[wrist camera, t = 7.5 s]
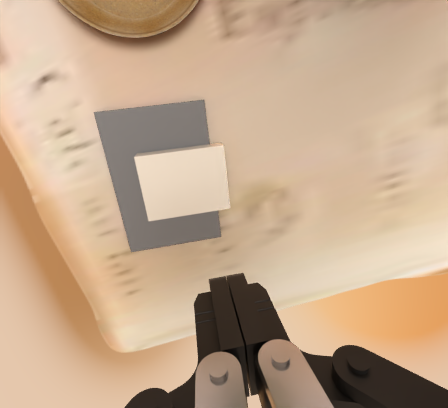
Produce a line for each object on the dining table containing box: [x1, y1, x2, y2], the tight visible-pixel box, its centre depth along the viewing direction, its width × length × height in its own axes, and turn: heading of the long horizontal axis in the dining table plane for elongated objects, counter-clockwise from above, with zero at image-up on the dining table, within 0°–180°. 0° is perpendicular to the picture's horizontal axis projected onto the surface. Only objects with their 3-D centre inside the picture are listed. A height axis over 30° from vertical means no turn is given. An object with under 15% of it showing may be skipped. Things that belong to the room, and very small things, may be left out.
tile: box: [134, 143, 230, 221], centre depth 29 cm, size 7×2×9 cm
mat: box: [94, 100, 221, 252], centre depth 30 cm, size 16×11×1 cm
